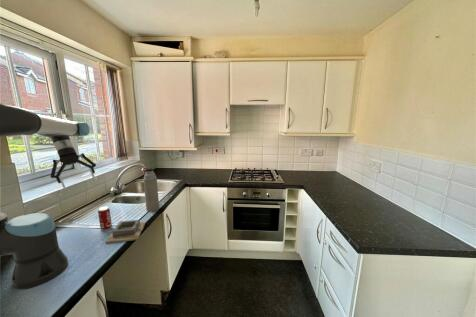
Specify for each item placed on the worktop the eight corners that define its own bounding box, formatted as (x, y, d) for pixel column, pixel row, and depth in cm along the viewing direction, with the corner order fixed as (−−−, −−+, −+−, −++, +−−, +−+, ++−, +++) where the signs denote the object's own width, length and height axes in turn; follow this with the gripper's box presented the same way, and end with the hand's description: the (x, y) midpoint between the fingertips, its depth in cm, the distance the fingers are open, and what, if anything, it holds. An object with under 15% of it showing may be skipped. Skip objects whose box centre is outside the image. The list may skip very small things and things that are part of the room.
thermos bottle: (151, 205, 132) (148, 167, 127) (161, 206, 131) (158, 168, 126) (143, 211, 125) (139, 170, 119) (154, 212, 123) (150, 171, 118)
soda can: (110, 224, 108) (107, 205, 106) (113, 227, 105) (110, 207, 103) (99, 228, 104) (96, 208, 102) (102, 232, 101) (99, 211, 99)
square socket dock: (137, 239, 94) (136, 232, 93) (105, 243, 91) (104, 235, 91) (145, 223, 110) (144, 216, 109) (119, 226, 107) (118, 219, 106)
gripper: (91, 145, 118) (105, 176, 118) (36, 157, 102) (51, 193, 102) (91, 141, 112) (105, 174, 112) (33, 153, 96) (49, 191, 96)
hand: (80, 183), depth 107 cm, fingers open, 13 cm apart
